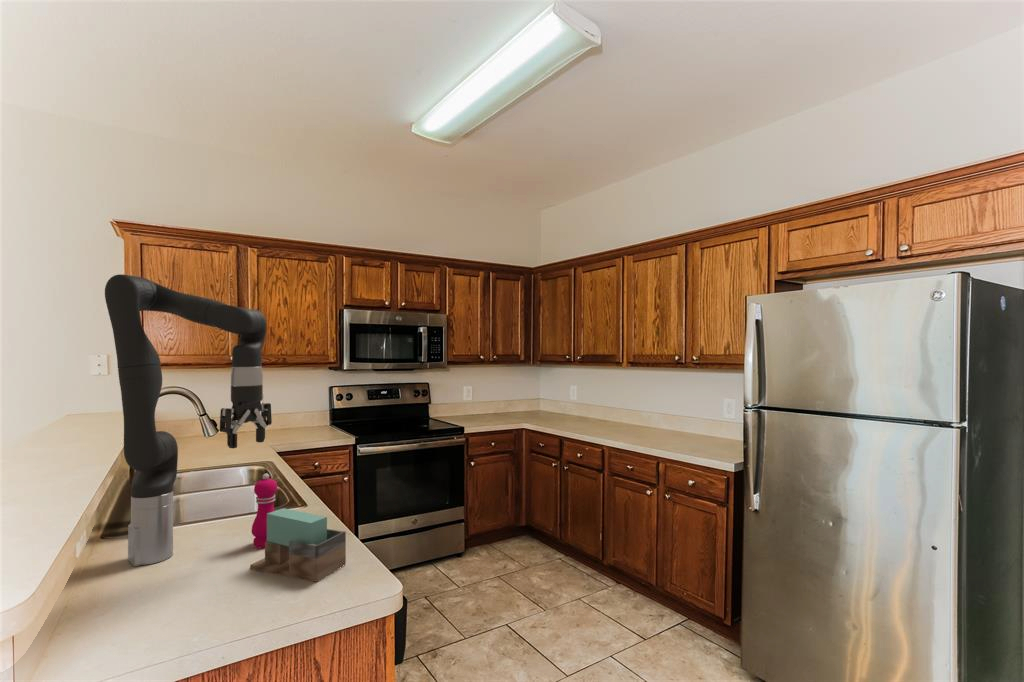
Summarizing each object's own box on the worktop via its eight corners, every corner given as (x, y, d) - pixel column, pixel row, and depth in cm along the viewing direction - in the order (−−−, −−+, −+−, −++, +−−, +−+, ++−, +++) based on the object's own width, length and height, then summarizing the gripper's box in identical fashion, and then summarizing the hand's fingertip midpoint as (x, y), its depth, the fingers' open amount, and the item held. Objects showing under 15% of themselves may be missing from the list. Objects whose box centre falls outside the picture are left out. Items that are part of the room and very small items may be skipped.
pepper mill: (284, 539, 148) (284, 470, 148) (270, 549, 141) (270, 476, 141) (261, 538, 149) (261, 470, 149) (245, 548, 141) (246, 476, 142)
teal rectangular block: (266, 541, 131) (266, 513, 131) (283, 534, 135) (283, 508, 136) (310, 552, 124) (311, 523, 124) (326, 544, 128) (326, 516, 128)
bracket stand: (250, 568, 128) (250, 534, 128) (281, 553, 138) (281, 522, 138) (317, 582, 121) (317, 546, 121) (345, 564, 130) (345, 531, 130)
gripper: (258, 381, 143) (258, 439, 143) (212, 385, 129) (212, 449, 129) (278, 382, 140) (278, 441, 140) (234, 385, 127) (233, 451, 127)
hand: (246, 445), depth 135 cm, fingers open, 8 cm apart
